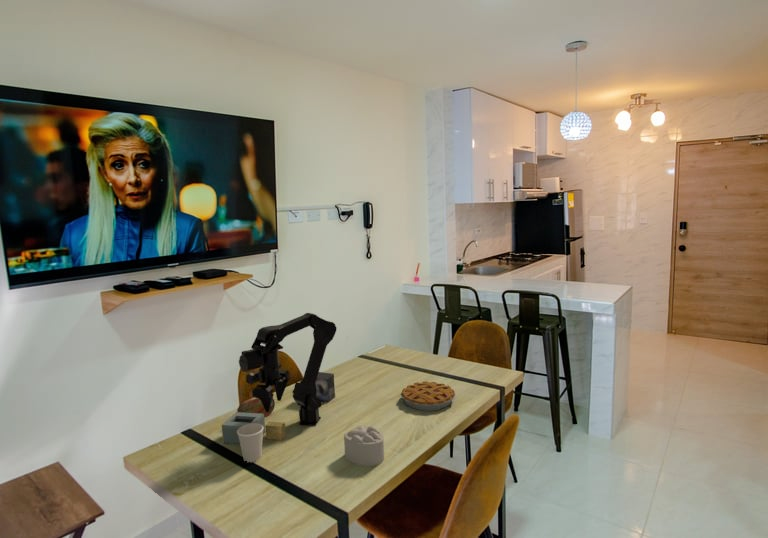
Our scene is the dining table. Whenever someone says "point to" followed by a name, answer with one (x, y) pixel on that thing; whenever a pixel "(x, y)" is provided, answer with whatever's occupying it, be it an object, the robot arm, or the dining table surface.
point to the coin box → (239, 425)
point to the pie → (428, 396)
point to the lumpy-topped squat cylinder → (364, 446)
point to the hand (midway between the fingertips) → (273, 406)
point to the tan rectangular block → (275, 430)
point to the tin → (255, 407)
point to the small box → (325, 387)
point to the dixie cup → (251, 441)
